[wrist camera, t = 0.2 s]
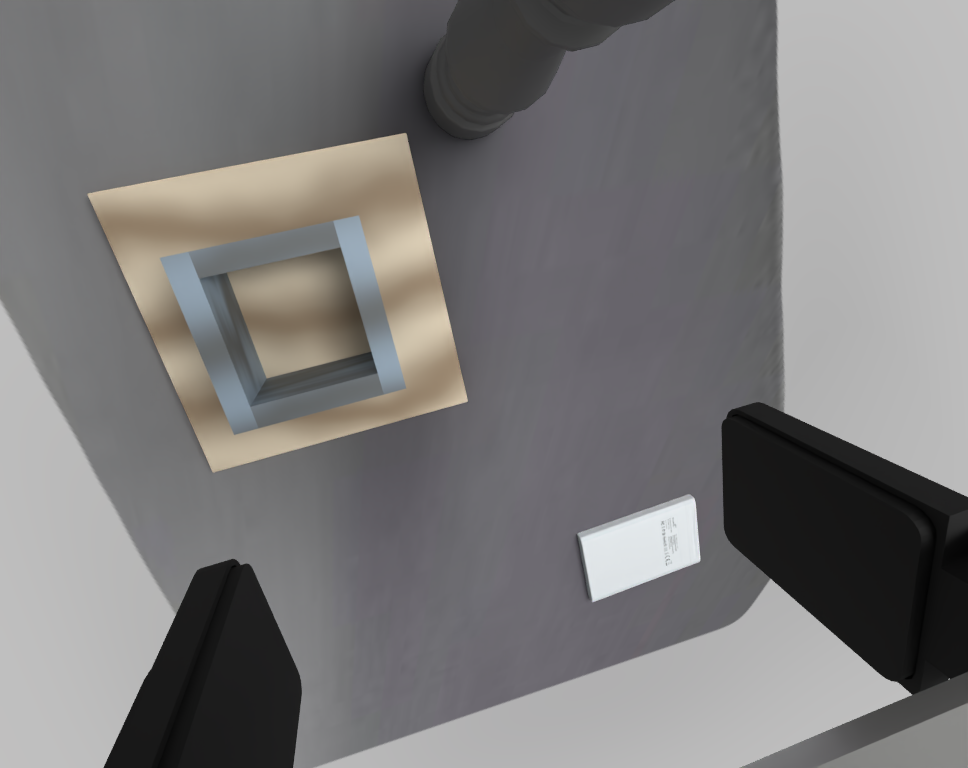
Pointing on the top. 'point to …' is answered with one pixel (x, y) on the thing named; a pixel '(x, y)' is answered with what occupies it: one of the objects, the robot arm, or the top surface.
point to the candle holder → (513, 55)
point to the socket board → (290, 296)
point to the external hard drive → (639, 547)
